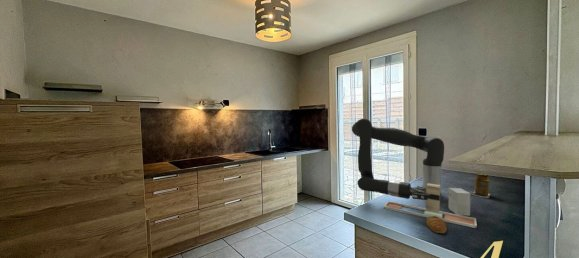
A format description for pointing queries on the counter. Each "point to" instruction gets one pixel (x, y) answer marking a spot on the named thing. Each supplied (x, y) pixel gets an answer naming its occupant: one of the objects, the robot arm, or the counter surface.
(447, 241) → the counter surface
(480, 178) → the condiment
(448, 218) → the pads
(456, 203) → the small box
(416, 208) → the rail channel
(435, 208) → the beech block
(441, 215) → the pad
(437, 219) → the pastry
